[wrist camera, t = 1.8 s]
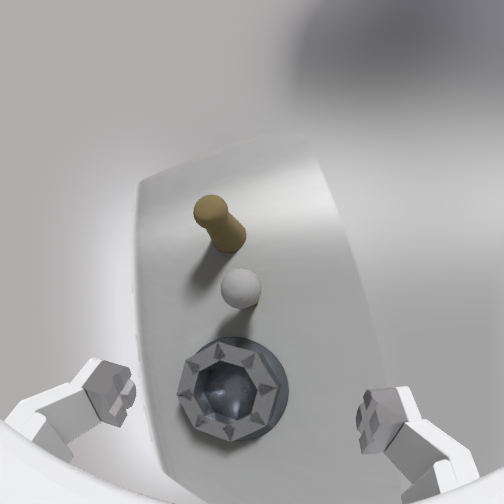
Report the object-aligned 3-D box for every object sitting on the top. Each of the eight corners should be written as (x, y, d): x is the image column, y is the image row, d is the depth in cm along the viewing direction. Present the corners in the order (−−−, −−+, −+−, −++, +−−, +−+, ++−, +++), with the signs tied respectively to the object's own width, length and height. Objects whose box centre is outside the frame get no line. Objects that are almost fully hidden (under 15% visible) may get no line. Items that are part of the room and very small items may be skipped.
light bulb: (237, 318, 44) (215, 306, 35) (236, 285, 46) (214, 265, 37) (271, 314, 43) (257, 302, 34) (269, 281, 45) (254, 260, 36)
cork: (214, 256, 49) (187, 228, 39) (213, 225, 52) (187, 193, 42) (247, 249, 48) (227, 219, 38) (244, 218, 51) (225, 184, 41)
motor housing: (309, 409, 36) (307, 415, 32) (215, 454, 36) (204, 462, 32) (253, 317, 44) (245, 313, 40) (168, 367, 44) (154, 366, 40)
